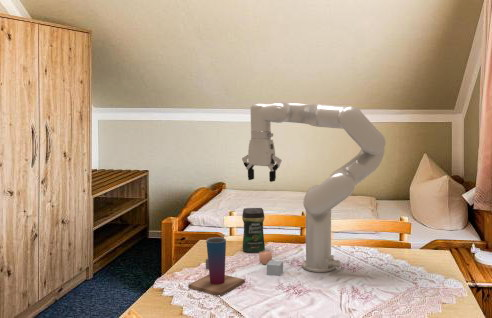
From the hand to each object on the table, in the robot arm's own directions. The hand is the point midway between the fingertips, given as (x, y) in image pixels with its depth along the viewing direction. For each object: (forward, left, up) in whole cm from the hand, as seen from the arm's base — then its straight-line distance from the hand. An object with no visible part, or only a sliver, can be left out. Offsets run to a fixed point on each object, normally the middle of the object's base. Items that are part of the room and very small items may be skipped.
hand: (261, 180), depth 181 cm
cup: (+2, +27, -32) cm, 42 cm away
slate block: (-9, +6, -34) cm, 35 cm away
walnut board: (+2, +27, -33) cm, 43 cm away
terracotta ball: (0, -2, -33) cm, 33 cm away
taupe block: (+13, +14, -34) cm, 39 cm away
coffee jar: (+13, -13, -34) cm, 38 cm away
